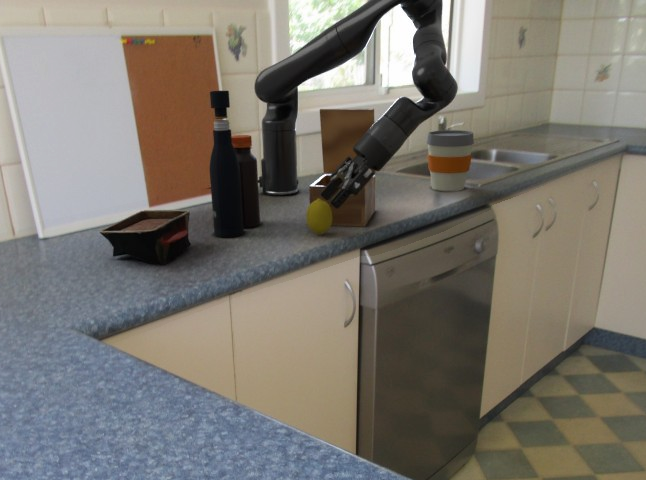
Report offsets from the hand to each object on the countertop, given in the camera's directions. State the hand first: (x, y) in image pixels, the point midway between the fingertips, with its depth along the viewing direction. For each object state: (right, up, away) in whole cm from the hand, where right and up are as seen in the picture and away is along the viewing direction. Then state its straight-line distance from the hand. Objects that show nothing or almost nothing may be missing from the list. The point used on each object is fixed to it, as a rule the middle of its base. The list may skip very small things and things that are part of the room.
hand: (327, 201), depth 140 cm
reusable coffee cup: (+35, +10, +45) cm, 58 cm away
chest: (+4, -1, +16) cm, 17 cm away
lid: (+5, +16, +15) cm, 23 cm away
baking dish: (-36, -12, -8) cm, 38 cm away
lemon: (-2, -7, +2) cm, 8 cm away
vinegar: (-19, -4, +12) cm, 23 cm away
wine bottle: (-22, -7, +5) cm, 23 cm away
